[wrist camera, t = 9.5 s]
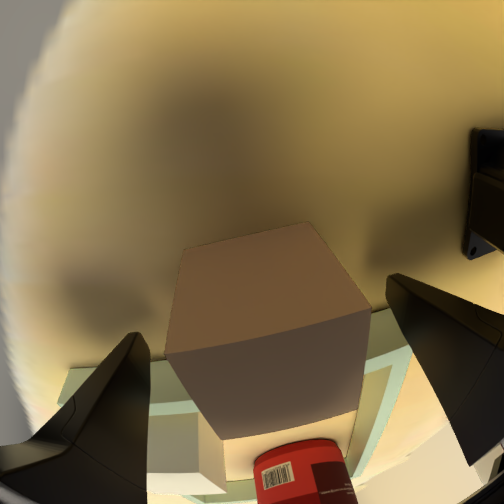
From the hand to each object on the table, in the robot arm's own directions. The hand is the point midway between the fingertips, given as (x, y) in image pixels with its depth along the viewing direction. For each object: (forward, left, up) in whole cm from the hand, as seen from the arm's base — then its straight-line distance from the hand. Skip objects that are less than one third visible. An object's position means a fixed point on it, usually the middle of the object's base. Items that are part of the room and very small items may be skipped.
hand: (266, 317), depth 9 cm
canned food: (0, +19, -2) cm, 19 cm away
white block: (+7, +8, -2) cm, 10 cm away
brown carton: (0, 0, -2) cm, 2 cm away
